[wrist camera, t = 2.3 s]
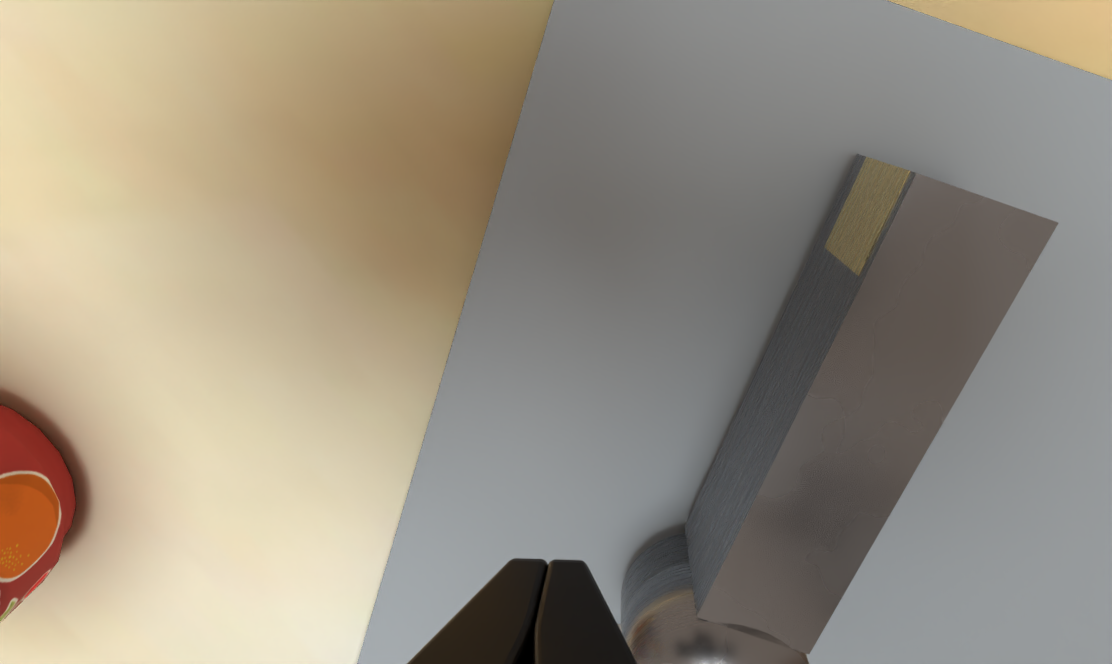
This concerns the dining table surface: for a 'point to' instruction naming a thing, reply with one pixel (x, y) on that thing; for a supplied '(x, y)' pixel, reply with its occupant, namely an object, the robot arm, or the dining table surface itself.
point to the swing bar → (833, 419)
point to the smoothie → (29, 508)
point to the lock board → (769, 320)
